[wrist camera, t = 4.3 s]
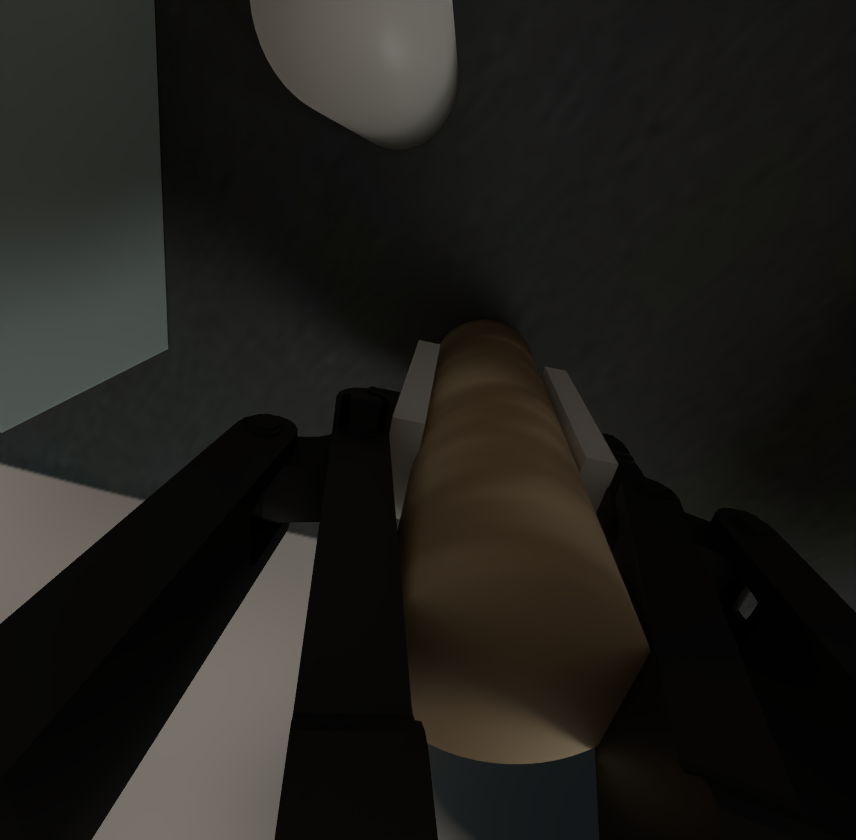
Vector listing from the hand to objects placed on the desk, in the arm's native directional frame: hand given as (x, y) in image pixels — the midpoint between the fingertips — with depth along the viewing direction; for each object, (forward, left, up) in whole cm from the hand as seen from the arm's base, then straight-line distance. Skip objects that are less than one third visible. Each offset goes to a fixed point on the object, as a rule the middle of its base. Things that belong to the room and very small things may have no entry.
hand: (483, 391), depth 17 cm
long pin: (0, 0, -3) cm, 3 cm away
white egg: (+5, -9, -3) cm, 11 cm away
